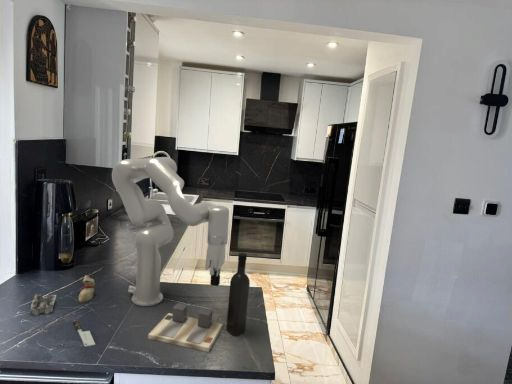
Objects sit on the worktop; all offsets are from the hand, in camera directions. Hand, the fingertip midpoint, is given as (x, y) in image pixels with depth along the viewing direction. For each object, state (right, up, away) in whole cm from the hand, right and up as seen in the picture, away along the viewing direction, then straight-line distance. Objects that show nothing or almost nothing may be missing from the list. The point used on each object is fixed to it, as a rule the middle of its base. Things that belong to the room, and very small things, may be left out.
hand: (214, 284), depth 129 cm
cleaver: (-43, -14, -13) cm, 47 cm away
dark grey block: (-13, -12, -3) cm, 18 cm away
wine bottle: (+8, -16, -4) cm, 19 cm away
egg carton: (-65, -9, 0) cm, 66 cm away
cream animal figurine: (-54, -8, +9) cm, 56 cm away
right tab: (-3, -13, -5) cm, 14 cm away
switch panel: (-9, -15, -8) cm, 19 cm away
